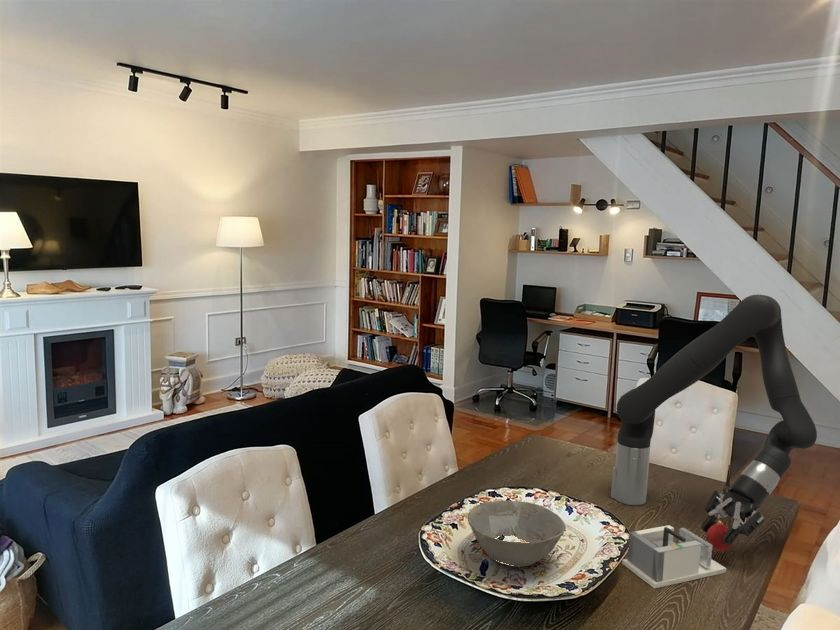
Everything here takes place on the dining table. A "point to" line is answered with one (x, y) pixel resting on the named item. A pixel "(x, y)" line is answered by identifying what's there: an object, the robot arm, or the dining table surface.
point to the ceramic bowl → (516, 530)
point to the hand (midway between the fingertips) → (714, 536)
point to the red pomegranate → (717, 537)
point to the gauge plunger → (687, 537)
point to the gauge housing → (666, 559)
